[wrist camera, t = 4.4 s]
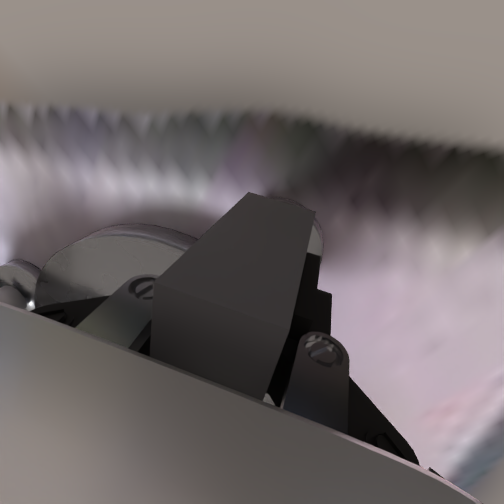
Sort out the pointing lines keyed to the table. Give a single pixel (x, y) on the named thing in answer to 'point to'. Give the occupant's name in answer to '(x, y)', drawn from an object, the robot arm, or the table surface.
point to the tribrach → (109, 263)
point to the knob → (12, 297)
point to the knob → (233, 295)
